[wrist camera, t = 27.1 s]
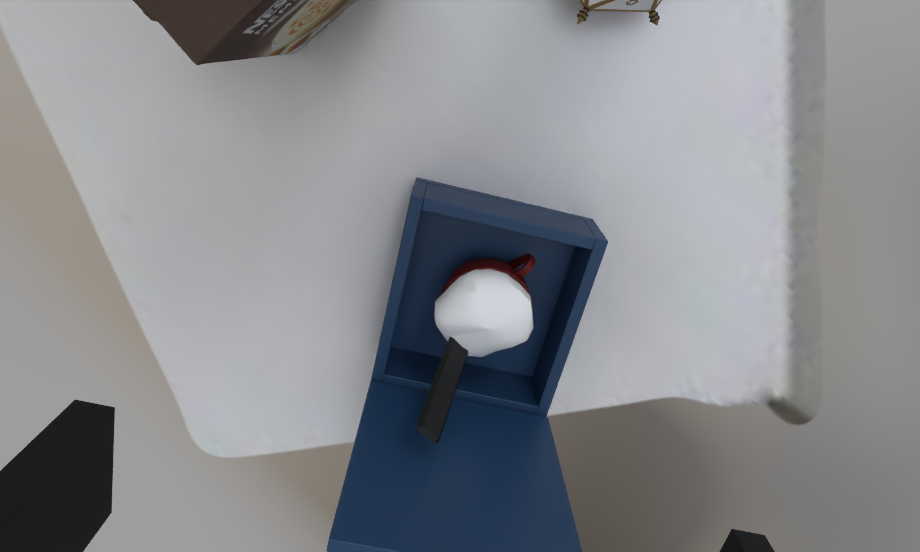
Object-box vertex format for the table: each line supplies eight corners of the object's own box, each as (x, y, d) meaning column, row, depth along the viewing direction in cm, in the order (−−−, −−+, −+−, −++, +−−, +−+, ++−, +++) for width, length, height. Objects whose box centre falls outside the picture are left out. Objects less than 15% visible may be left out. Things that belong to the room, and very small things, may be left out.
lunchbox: (416, 177, 41) (411, 195, 37) (593, 219, 42) (608, 241, 38) (379, 348, 46) (370, 382, 42) (538, 381, 47) (545, 418, 43)
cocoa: (522, 226, 42) (544, 297, 30) (555, 301, 44) (587, 394, 33) (399, 278, 43) (377, 365, 32) (437, 349, 45) (428, 453, 34)
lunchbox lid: (328, 538, 28) (306, 645, 30) (591, 587, 29) (551, 686, 31) (370, 380, 41) (353, 461, 43) (548, 417, 42) (522, 494, 44)
